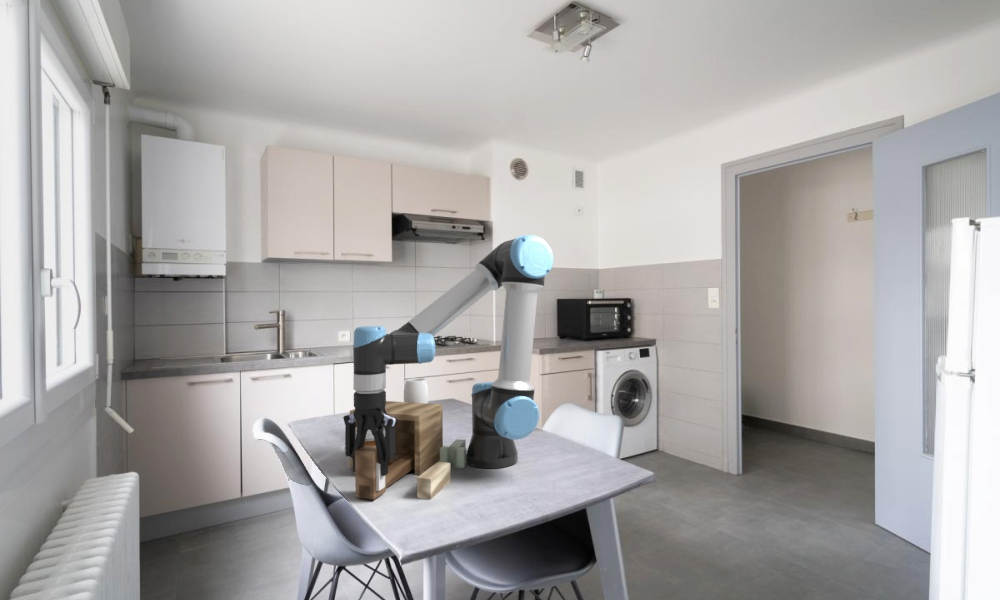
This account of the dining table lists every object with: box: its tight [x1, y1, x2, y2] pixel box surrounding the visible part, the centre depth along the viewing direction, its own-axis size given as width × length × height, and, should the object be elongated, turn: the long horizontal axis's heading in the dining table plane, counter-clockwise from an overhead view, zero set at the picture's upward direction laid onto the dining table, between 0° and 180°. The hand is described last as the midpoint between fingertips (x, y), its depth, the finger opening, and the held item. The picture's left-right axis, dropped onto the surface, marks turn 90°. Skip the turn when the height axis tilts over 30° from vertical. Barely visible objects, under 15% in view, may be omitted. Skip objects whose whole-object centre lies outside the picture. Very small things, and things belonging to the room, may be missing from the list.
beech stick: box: [416, 461, 452, 500], centre depth 121 cm, size 4×12×5 cm, turn 163°
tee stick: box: [439, 438, 467, 469], centre depth 142 cm, size 7×10×5 cm
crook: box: [354, 445, 415, 501], centre depth 126 cm, size 16×22×11 cm
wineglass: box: [403, 377, 429, 404], centre depth 161 cm, size 9×9×21 cm
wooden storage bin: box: [349, 400, 444, 476], centre depth 141 cm, size 22×15×16 cm
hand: (370, 487), depth 116 cm, fingers closed on crook, 5 cm apart
